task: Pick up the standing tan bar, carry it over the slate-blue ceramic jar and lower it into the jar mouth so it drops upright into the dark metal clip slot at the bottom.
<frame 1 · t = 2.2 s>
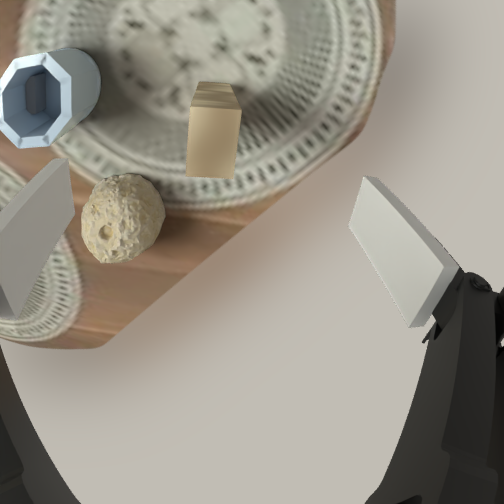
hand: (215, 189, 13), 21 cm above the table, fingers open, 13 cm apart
jar: (63, 87, 26), on the table
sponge: (127, 206, 36), on the table
tan bar: (211, 103, 30), on the table
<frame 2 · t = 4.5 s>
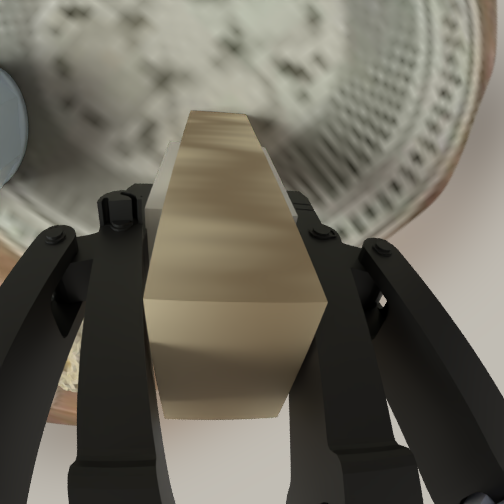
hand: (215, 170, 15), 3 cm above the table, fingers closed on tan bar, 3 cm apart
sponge: (93, 298, 23), on the table
tan bar: (214, 150, 17), on the table, touching gripper
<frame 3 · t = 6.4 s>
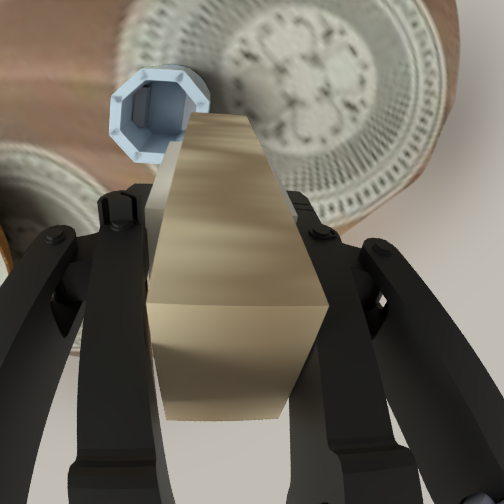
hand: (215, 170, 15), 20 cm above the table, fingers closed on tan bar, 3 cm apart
jar: (168, 104, 30), on the table
tan bar: (215, 151, 18), point 17 cm above the table, touching gripper
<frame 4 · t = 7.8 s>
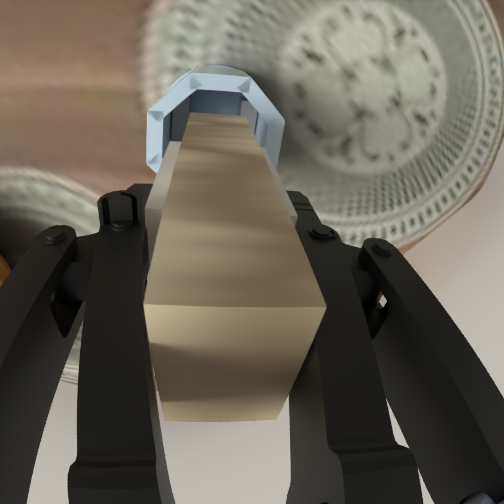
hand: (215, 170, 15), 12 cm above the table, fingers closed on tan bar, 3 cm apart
jar: (213, 115, 25), on the table
tan bar: (214, 151, 18), point 9 cm above the table, touching gripper
when the fingers open (9 cm above the table, at t = 8.6 s): tan bar drops 5 cm, resting on jar.
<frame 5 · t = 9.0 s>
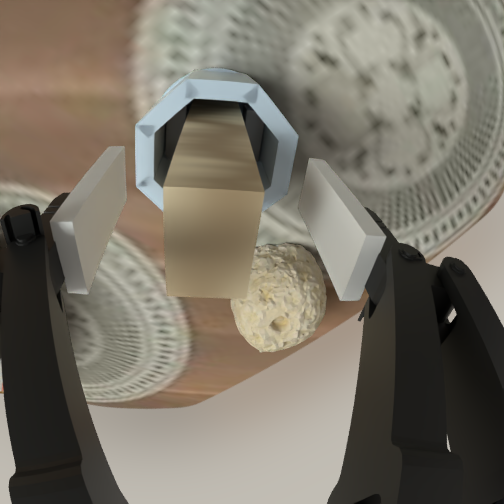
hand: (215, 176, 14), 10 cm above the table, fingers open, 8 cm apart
jar: (213, 125, 22), on the table
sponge: (273, 276, 32), on the table
tan bar: (212, 129, 22), point 1 cm above the table, touching jar
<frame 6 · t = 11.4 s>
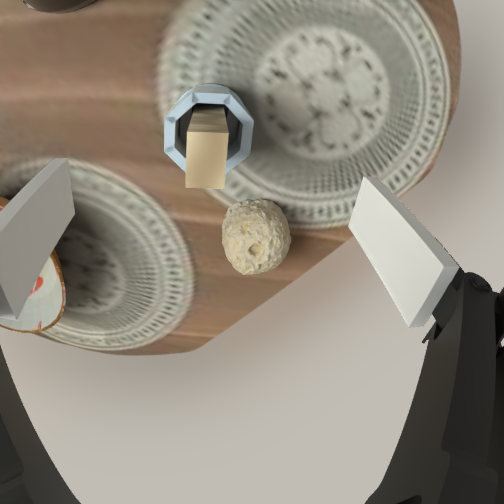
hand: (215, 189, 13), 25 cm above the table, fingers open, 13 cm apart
jar: (208, 119, 35), on the table
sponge: (253, 225, 45), on the table
tan bar: (208, 121, 35), point 1 cm above the table, touching jar
bowl: (15, 241, 41), on the table
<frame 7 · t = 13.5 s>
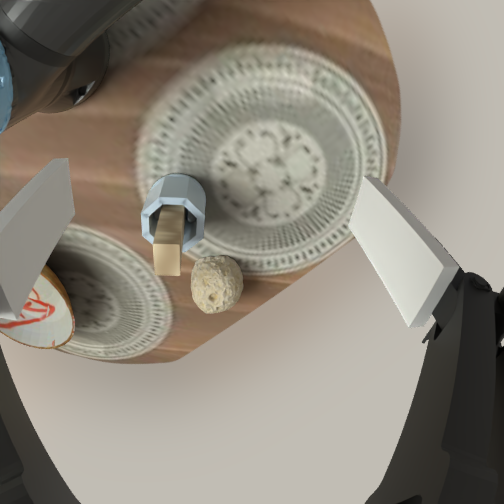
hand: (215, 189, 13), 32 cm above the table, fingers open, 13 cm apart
jar: (177, 199, 48), on the table
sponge: (216, 273, 58), on the table
tan bar: (176, 202, 47), point 1 cm above the table, touching jar
bowl: (31, 278, 53), on the table
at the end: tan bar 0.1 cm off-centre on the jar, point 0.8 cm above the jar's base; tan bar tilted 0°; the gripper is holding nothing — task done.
